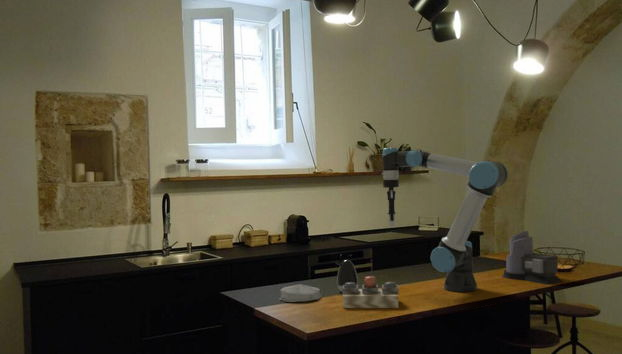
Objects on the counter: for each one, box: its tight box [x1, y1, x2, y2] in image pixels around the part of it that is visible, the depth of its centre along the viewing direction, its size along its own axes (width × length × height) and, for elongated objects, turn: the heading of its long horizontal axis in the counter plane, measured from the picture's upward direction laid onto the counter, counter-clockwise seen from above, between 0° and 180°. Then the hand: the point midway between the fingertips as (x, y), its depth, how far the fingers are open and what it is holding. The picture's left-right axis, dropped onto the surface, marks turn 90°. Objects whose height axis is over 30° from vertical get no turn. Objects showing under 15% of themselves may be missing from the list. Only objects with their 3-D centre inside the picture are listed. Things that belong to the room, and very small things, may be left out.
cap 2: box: [384, 281, 396, 288], centre depth 234 cm, size 4×4×4 cm
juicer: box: [501, 230, 564, 286], centre depth 281 cm, size 30×16×24 cm, turn 31°
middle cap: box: [364, 275, 376, 288], centre depth 235 cm, size 4×4×4 cm
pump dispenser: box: [335, 259, 359, 292], centre depth 261 cm, size 10×10×15 cm
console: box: [341, 284, 400, 309], centre depth 235 cm, size 24×14×8 cm, turn 84°
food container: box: [279, 283, 322, 303], centre depth 250 cm, size 20×20×7 cm
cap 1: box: [345, 282, 355, 288], centre depth 236 cm, size 4×4×4 cm
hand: (392, 227), depth 268 cm, fingers closed
